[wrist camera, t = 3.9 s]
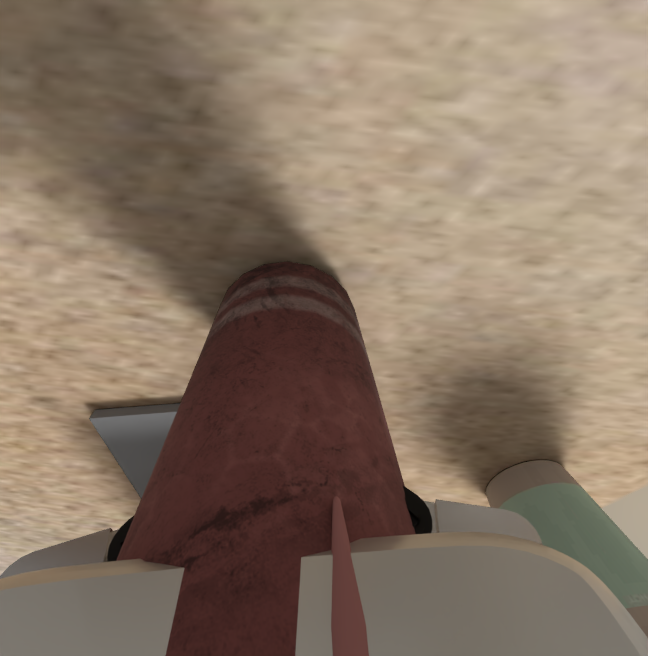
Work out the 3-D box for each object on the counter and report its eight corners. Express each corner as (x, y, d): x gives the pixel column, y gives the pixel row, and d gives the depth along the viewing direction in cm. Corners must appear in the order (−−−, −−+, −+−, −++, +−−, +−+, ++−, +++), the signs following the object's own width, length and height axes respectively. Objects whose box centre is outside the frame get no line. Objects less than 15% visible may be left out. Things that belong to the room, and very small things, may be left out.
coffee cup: (502, 523, 28) (615, 753, 18) (445, 488, 24) (547, 752, 14) (602, 477, 25) (807, 724, 15) (554, 429, 21) (782, 713, 11)
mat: (94, 409, 18) (89, 418, 17) (352, 389, 18) (354, 397, 18) (193, 567, 29) (191, 575, 28) (351, 553, 29) (352, 561, 29)
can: (371, 265, 14) (728, 1013, 2) (335, 375, 17) (410, 911, 6) (227, 236, 13) (-406, 1334, 1) (218, 360, 16) (14, 980, 5)
